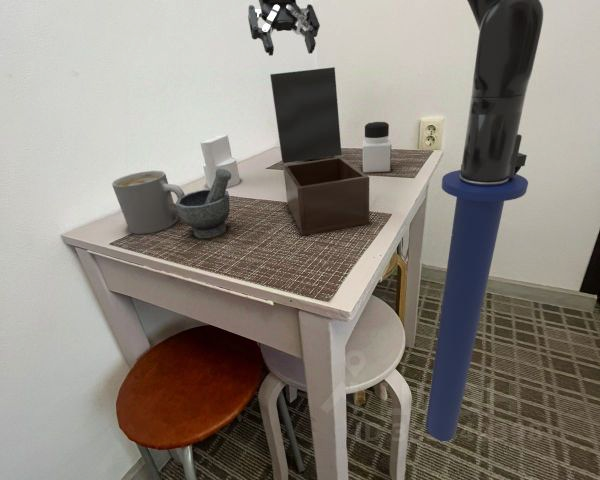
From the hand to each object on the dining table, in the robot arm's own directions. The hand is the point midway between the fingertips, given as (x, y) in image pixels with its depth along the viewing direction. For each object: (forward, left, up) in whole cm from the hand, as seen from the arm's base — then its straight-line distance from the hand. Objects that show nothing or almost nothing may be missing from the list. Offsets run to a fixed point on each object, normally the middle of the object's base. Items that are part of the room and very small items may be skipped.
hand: (292, 51), depth 66 cm
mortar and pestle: (+19, +18, -30) cm, 40 cm away
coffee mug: (+32, +12, -30) cm, 45 cm away
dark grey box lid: (-1, +8, -12) cm, 14 cm away
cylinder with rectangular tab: (+21, -13, -30) cm, 39 cm away
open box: (-3, +16, -29) cm, 34 cm away
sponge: (-7, -30, -30) cm, 42 cm away
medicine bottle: (-21, -10, -30) cm, 37 cm away
